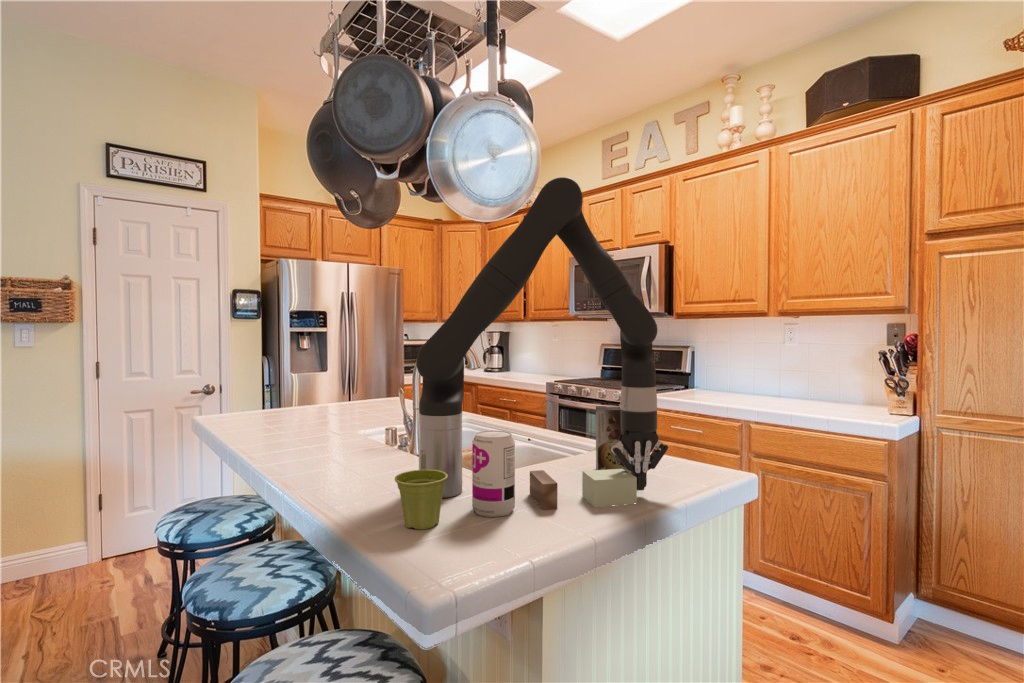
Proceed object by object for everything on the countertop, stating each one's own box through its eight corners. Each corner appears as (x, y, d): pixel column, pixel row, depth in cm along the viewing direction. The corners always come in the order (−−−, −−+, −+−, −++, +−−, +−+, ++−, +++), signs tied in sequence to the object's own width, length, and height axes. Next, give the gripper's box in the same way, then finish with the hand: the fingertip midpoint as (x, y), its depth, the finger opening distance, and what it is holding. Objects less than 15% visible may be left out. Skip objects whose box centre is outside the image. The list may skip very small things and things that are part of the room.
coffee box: (631, 468, 131) (631, 405, 131) (634, 475, 125) (634, 409, 125) (595, 467, 132) (595, 405, 132) (596, 474, 126) (597, 408, 126)
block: (594, 507, 102) (594, 480, 101) (582, 496, 108) (582, 471, 108) (636, 504, 103) (636, 477, 103) (621, 494, 110) (622, 468, 110)
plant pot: (400, 537, 86) (400, 486, 86) (390, 519, 95) (390, 472, 95) (454, 529, 90) (454, 479, 90) (439, 512, 99) (439, 467, 99)
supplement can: (483, 521, 94) (483, 439, 94) (465, 507, 101) (466, 432, 101) (522, 514, 98) (522, 435, 98) (502, 501, 105) (502, 428, 105)
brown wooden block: (542, 509, 100) (542, 484, 100) (529, 494, 110) (529, 470, 110) (557, 508, 101) (557, 483, 101) (543, 493, 111) (543, 470, 111)
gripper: (617, 411, 103) (617, 497, 103) (676, 408, 106) (676, 492, 106) (602, 406, 111) (602, 486, 111) (658, 404, 113) (658, 482, 114)
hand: (639, 489), depth 109 cm, fingers closed
